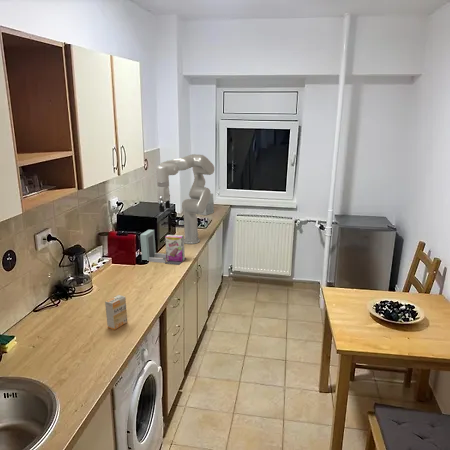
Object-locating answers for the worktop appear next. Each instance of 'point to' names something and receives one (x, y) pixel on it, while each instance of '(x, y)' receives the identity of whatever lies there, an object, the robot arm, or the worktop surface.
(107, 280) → the worktop surface
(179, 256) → the candy bar box
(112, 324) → the supplement box
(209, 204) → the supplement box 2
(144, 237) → the dispenser
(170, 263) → the mat
